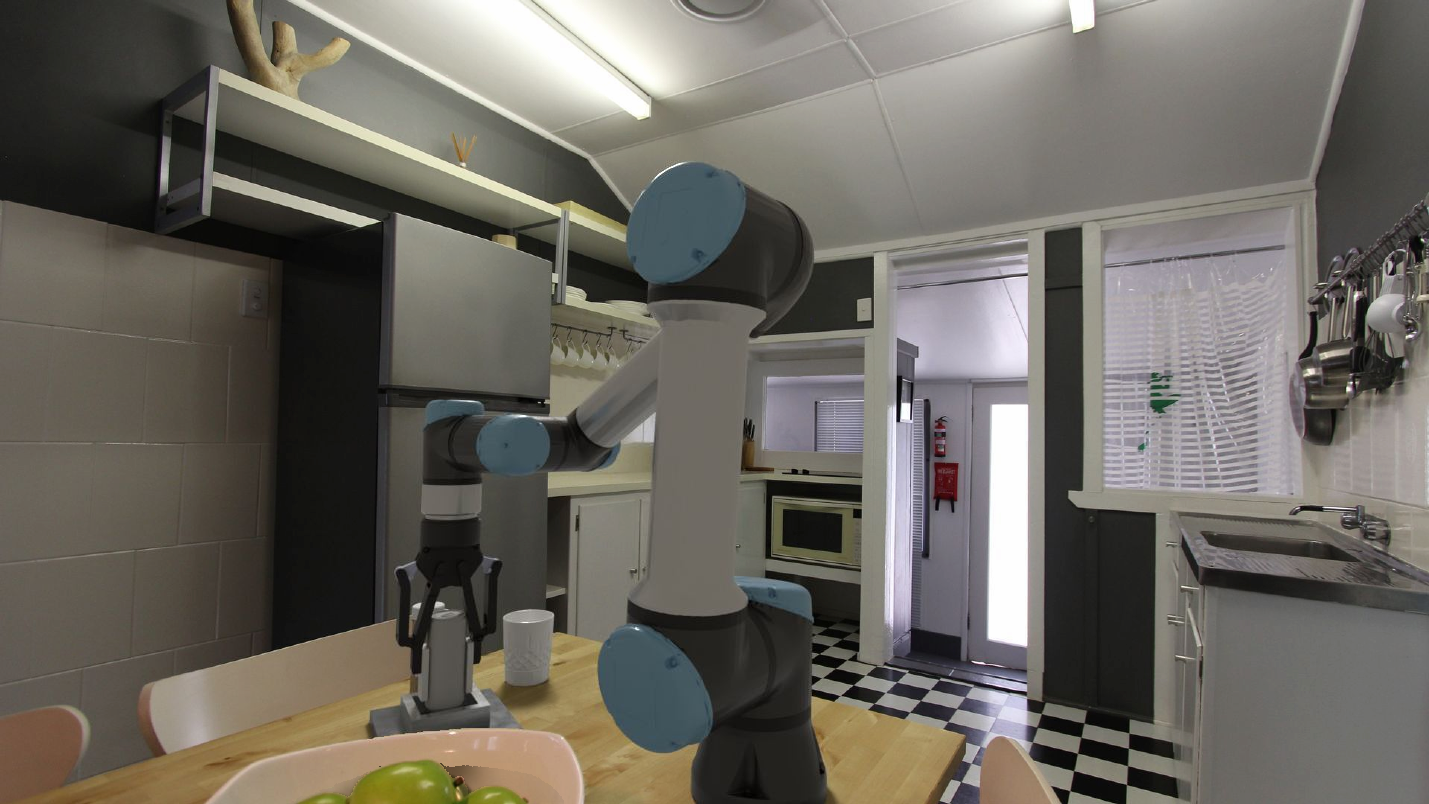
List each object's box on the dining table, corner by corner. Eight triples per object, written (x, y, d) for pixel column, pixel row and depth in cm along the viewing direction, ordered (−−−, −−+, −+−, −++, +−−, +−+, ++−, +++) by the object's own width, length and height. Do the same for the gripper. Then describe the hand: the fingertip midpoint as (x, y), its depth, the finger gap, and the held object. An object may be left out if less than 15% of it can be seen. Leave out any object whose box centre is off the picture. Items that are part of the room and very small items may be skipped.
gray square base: (522, 740, 86) (523, 708, 86) (383, 773, 77) (385, 737, 77) (490, 698, 99) (491, 670, 99) (369, 721, 91) (370, 691, 91)
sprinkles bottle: (425, 703, 97) (428, 609, 98) (401, 698, 99) (404, 606, 99) (448, 692, 101) (451, 602, 102) (424, 687, 103) (428, 599, 104)
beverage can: (416, 709, 87) (419, 615, 88) (446, 696, 92) (449, 607, 92) (442, 716, 85) (445, 621, 86) (472, 703, 89) (474, 612, 90)
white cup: (537, 667, 113) (539, 607, 113) (561, 680, 107) (563, 616, 107) (492, 678, 107) (494, 615, 108) (515, 692, 102) (517, 625, 102)
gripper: (510, 509, 97) (505, 672, 96) (373, 516, 88) (366, 697, 87) (526, 515, 91) (521, 689, 90) (380, 522, 82) (372, 718, 80)
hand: (445, 693), depth 88 cm, fingers closed on beverage can, 5 cm apart
